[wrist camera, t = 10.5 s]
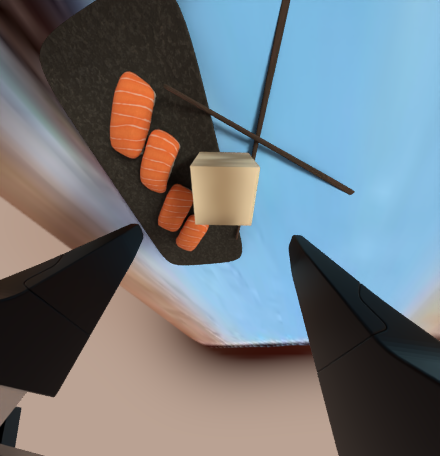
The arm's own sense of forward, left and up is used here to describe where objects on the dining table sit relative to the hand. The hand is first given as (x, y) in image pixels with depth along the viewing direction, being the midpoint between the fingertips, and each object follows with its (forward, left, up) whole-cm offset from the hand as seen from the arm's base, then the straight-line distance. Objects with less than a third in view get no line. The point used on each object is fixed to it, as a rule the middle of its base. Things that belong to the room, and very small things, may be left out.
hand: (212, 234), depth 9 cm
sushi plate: (0, 0, -13) cm, 13 cm away
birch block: (+1, 0, -10) cm, 10 cm away
